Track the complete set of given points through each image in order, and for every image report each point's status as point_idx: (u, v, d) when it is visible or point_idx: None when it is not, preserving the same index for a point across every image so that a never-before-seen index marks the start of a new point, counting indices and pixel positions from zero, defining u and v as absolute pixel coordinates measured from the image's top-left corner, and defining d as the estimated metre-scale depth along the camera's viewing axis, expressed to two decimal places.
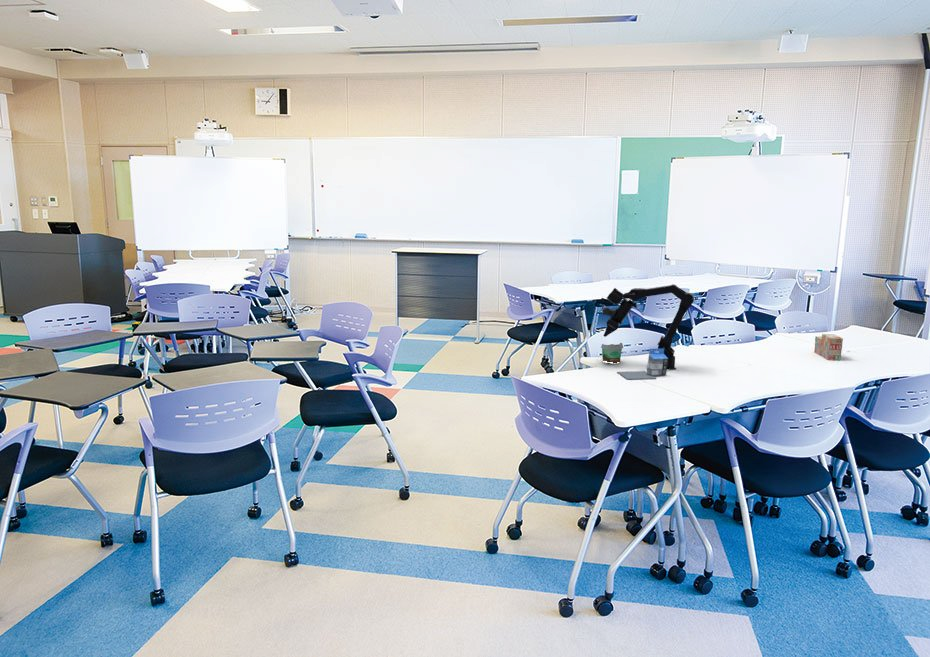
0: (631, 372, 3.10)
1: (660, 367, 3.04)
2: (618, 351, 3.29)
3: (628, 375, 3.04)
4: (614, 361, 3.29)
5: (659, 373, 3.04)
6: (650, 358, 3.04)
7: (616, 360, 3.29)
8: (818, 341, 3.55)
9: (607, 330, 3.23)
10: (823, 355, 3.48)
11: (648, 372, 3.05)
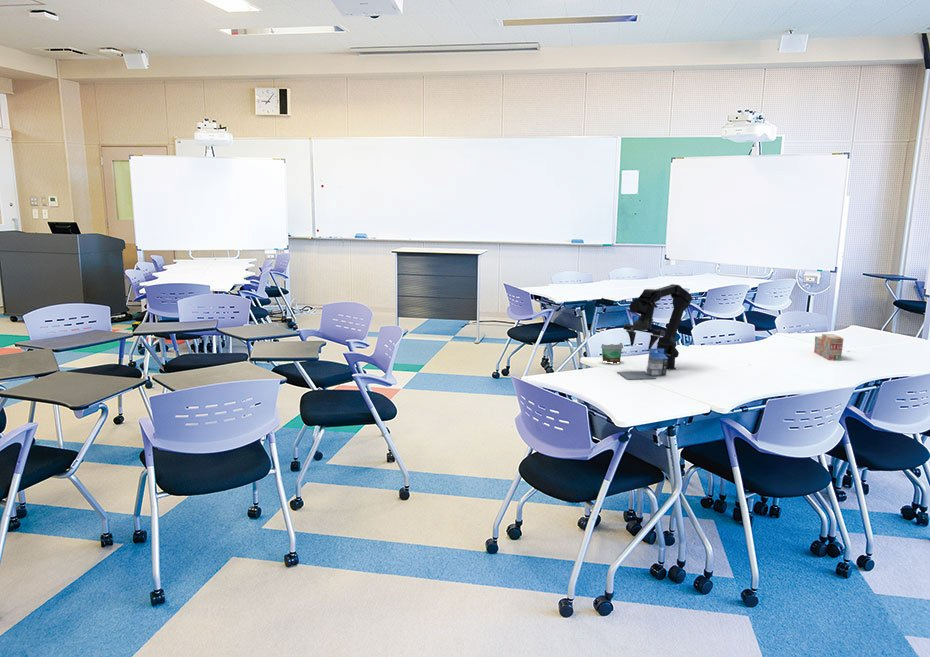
0: (631, 372, 3.10)
1: (660, 367, 3.04)
2: (618, 351, 3.29)
3: (628, 375, 3.04)
4: (614, 361, 3.29)
5: (659, 373, 3.04)
6: (650, 358, 3.04)
7: (616, 360, 3.29)
8: (818, 341, 3.56)
9: (652, 342, 3.03)
10: (823, 355, 3.48)
11: (648, 372, 3.05)
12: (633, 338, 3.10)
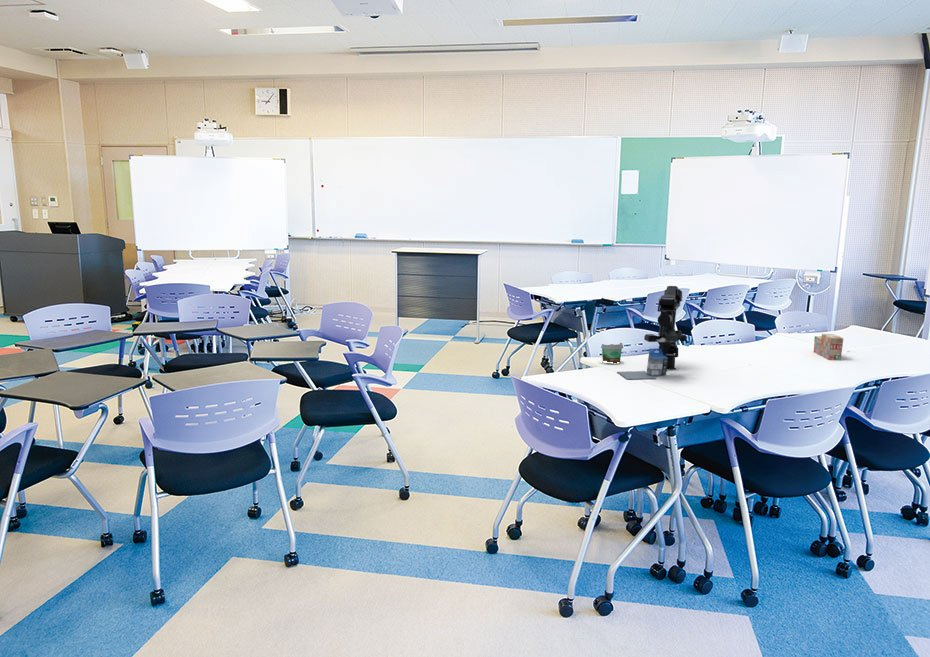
0: (631, 372, 3.10)
1: (660, 367, 3.04)
2: (618, 351, 3.29)
3: (628, 375, 3.04)
4: (614, 361, 3.29)
5: (659, 373, 3.04)
6: (650, 358, 3.04)
7: (616, 360, 3.29)
8: (818, 341, 3.56)
9: None
10: (823, 355, 3.48)
11: (648, 372, 3.05)
12: None
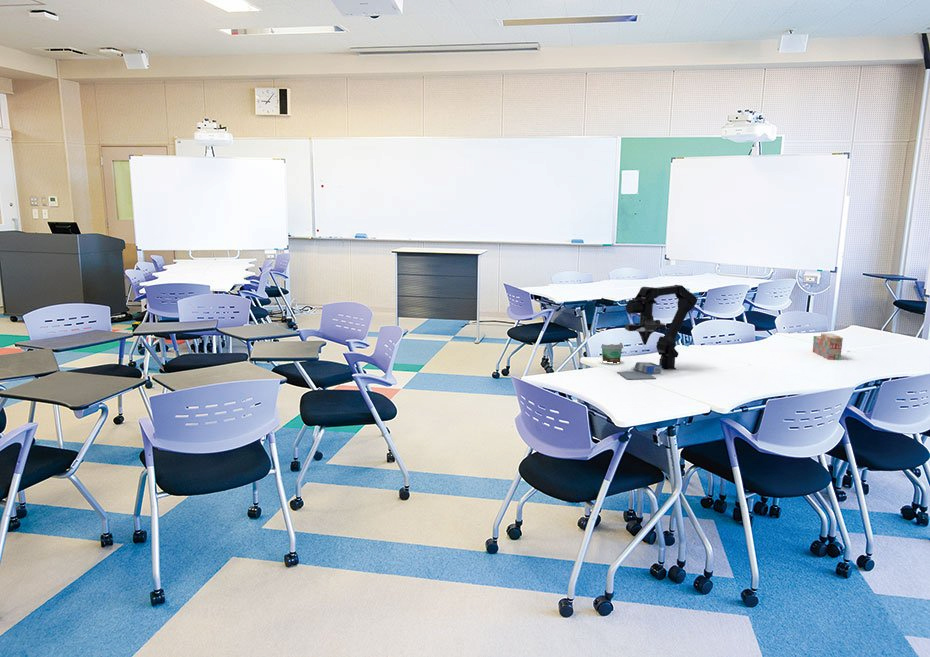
0: (631, 372, 3.10)
1: (650, 364, 3.12)
2: (618, 351, 3.29)
3: (628, 375, 3.04)
4: (614, 361, 3.29)
5: (653, 365, 3.09)
6: (636, 366, 3.14)
7: (616, 360, 3.29)
8: (817, 340, 3.57)
9: None
10: (822, 354, 3.49)
11: (645, 369, 3.08)
12: None
